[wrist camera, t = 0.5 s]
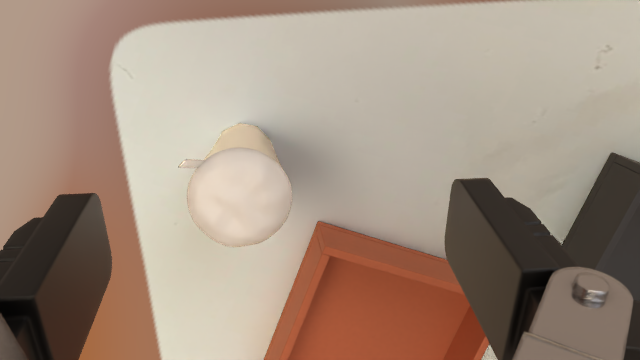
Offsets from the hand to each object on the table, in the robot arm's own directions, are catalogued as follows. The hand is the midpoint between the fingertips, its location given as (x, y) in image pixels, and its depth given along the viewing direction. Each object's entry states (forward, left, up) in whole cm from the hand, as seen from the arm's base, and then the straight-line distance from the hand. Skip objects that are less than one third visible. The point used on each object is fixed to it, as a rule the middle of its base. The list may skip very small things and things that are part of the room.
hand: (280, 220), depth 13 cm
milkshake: (+4, 0, -19) cm, 20 cm away
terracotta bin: (+13, +12, -19) cm, 26 cm away
